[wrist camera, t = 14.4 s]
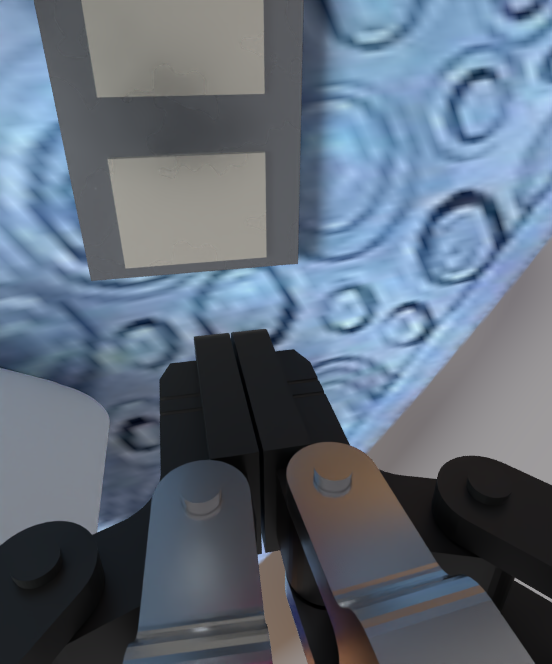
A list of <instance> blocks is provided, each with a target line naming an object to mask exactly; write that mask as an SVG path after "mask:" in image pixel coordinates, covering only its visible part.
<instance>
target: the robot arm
mask: <svg viewBox="0 0 552 664" xmlns="http://www.w3.org/2000/svg"><path fill="white" fill-rule="evenodd" d="M194 345H195V355H196V361H188V362H180V363H171V364H170V365H169V366H168V368H167V369H166V371H165V372H164V374H163V375H162V377H161V379H160V453H161V476H160V482H159V484H158V485H157V487H156V488H155V491H154V493H153V497H152V498H151V499H150V501H149V502H148V503H147V504H146V505H145V506H144V507H143V508H142V509H141V510H139V511H138V512H137V513H135V514H134V515H132V516H131V517H129V518H128V519H126V520H124V521H122V522H120V523H118V524H115V525H113V526H111V527H109V528H106V529H104V530H102V531H100V532H97V533H95V534H93V535H92V534H91V533H90V532H89V531H88V530H87V529H86V528H84V527H83V526H81V525H79V524H76V523H73V522H68V521H51V522H45V523H41V524H37V525H34V526H32V527H29V528H26V529H24V530H23V531H21V532H19V533H17V534H15V535H14V536H12V537H11V538H9V539H8V540H6V541H5V542H4V543H3V544H1V545H0V664H273V663H272V654H271V646H270V639H269V632H268V627H267V624H266V623H265V618H264V610H263V601H262V592H261V583H260V574H259V565H258V556H257V555H258V554H262V543H261V534H262V538H263V543H264V548H265V552H266V553H267V552H273V551H278V550H280V551H281V555H282V559H283V563H284V567H285V591H286V596H287V600H288V603H289V606H290V609H291V612H292V616H293V619H294V622H295V625H296V628H297V631H298V634H299V638H300V641H301V644H302V647H303V650H304V653H305V656H306V659H307V662H308V664H552V603H551V602H550V601H548V600H547V599H545V598H543V597H541V596H540V595H538V594H536V593H534V592H533V591H531V590H530V589H528V588H526V587H524V586H523V585H521V584H519V583H518V582H516V581H514V578H517V579H518V580H520V581H522V582H524V583H525V584H527V585H529V586H530V587H532V588H534V589H536V590H537V591H539V592H541V593H543V594H544V595H546V596H548V597H550V598H551V599H552V485H550V484H548V483H545V482H543V481H541V480H539V479H537V478H535V477H533V476H530V475H528V474H526V473H524V472H522V471H520V470H517V469H515V468H513V467H511V466H508V465H507V464H504V463H502V462H499V461H497V460H494V459H490V458H487V457H481V456H462V457H457V458H455V459H452V460H450V461H449V462H447V463H445V464H444V465H443V466H442V467H441V469H440V471H439V473H438V477H437V479H430V478H422V477H412V476H402V475H395V474H391V473H388V472H384V471H382V470H379V469H378V468H377V466H376V465H375V463H374V462H373V461H372V459H371V458H370V457H369V456H367V455H366V454H365V453H364V452H362V451H361V450H359V449H357V448H355V447H352V446H350V444H349V442H348V440H347V438H346V436H345V434H344V432H343V430H342V428H341V426H340V423H339V421H338V419H337V417H336V415H335V413H334V411H333V409H332V407H331V405H330V403H329V401H328V398H327V396H326V394H324V390H323V388H322V386H321V384H320V382H319V381H318V378H317V376H316V373H315V371H314V369H313V367H312V365H311V363H310V362H309V361H308V360H307V359H306V358H304V357H303V356H302V355H300V354H299V353H298V352H296V351H295V350H294V349H293V350H284V351H275V349H274V347H273V344H272V342H271V339H270V337H269V334H268V331H267V330H266V329H260V330H251V331H241V332H232V333H231V338H230V335H229V333H223V334H214V335H204V336H195V337H194Z"/></svg>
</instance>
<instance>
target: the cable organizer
mask: <svg viewBox="0 0 552 664" xmlns="http://www.w3.org/2000/svg"><path fill="white" fill-rule="evenodd" d="M109 425H110V419H109V415H108V413H107V411H106V410H105V408H104V407H103V406H102V405H101V404H100V403H99V402H97V401H96V400H95V399H93V398H92V397H90V396H89V395H87V394H85V393H83V392H81V391H79V390H76V389H74V388H71V387H67V386H64V385H60V384H59V383H56V382H54V381H50V380H46V379H43V378H39V377H35V376H31V375H27V374H23V373H19V372H15V371H11V370H7V369H3V368H0V545H1V544H3V543H4V542H5V541H6V540H8V539H9V538H11V537H12V536H14V535H15V534H17V533H19V532H21V531H23V530H24V529H26V528H29V527H32V526H34V525H37V524H41V523H45V522H51V521H68V522H73V523H76V524H79V525H81V526H83V527H84V528H86V529H87V530H88V531H89V532H90V533H91V534H92V535H93V534H95V533H97V527H98V519H99V510H100V502H101V493H102V485H103V476H104V468H105V459H106V451H107V442H108V434H109Z"/></svg>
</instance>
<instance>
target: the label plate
mask: <svg viewBox="0 0 552 664" xmlns="http://www.w3.org/2000/svg"><path fill="white" fill-rule="evenodd" d="M303 3H304V0H34V4H35V9H36V14H37V18H38V23H39V28H40V33H41V38H42V43H43V48H44V53H45V57H46V62H47V67H48V72H49V77H50V82H51V87H52V92H53V96H54V101H55V106H56V111H57V116H58V121H59V126H60V131H61V135H62V140H63V145H64V150H65V155H66V160H67V165H68V170H69V175H70V179H71V184H72V189H73V194H74V199H75V204H76V209H77V214H78V218H79V223H80V228H81V233H82V238H83V243H84V248H85V253H86V257H87V262H88V267H89V272H90V277H91V281H95V280H107V279H119V278H131V277H143V276H155V275H167V274H179V273H191V272H203V271H215V270H227V269H240V268H252V267H264V266H276V265H288V264H298V233H299V187H300V141H301V95H302V49H303Z"/></svg>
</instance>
